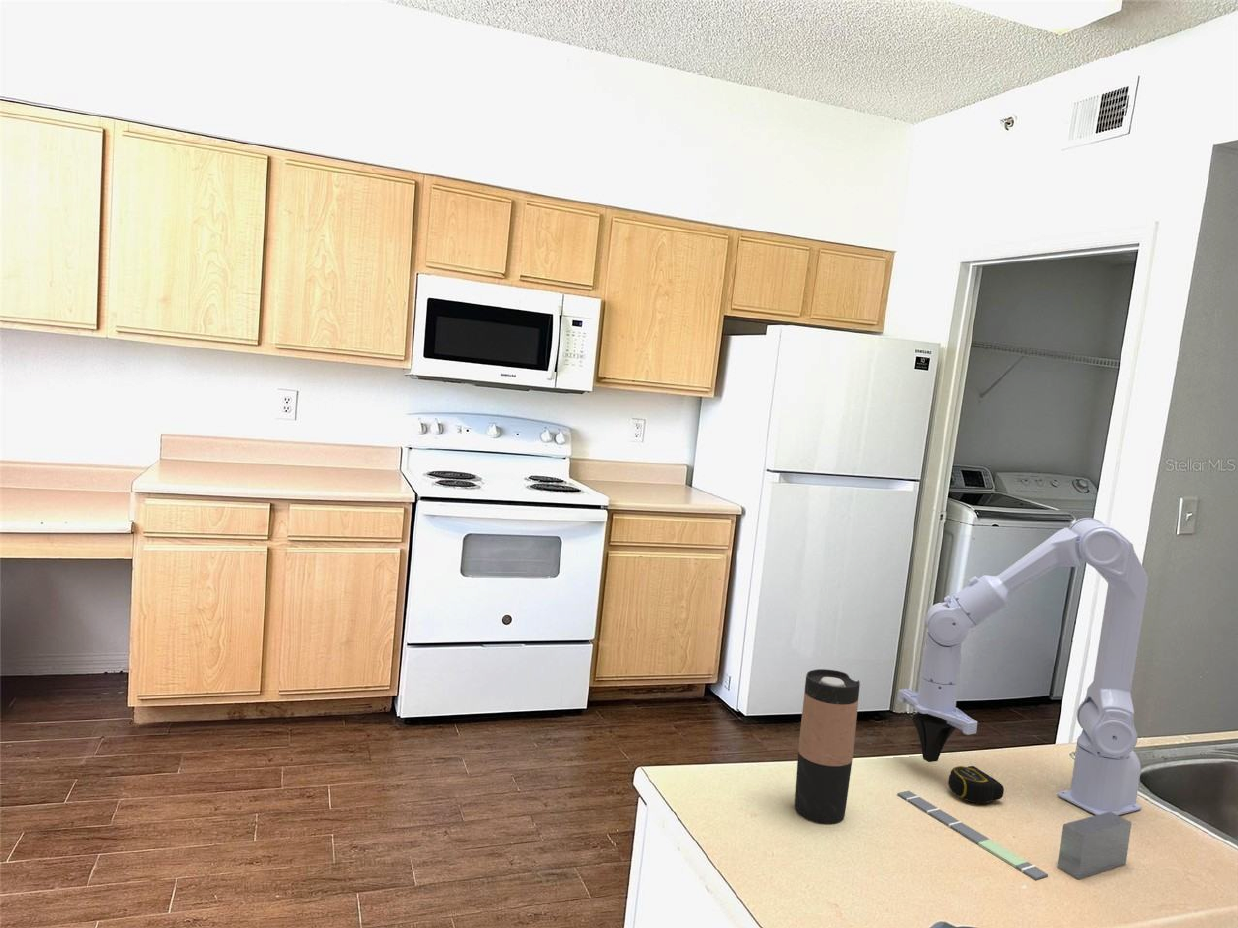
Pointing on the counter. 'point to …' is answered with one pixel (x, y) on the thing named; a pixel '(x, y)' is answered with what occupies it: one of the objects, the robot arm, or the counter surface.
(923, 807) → the scale strip
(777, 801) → the counter surface
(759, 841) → the counter surface
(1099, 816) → the charcoal grey brick
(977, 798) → the tape measure
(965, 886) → the counter surface
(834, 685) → the travel mug
